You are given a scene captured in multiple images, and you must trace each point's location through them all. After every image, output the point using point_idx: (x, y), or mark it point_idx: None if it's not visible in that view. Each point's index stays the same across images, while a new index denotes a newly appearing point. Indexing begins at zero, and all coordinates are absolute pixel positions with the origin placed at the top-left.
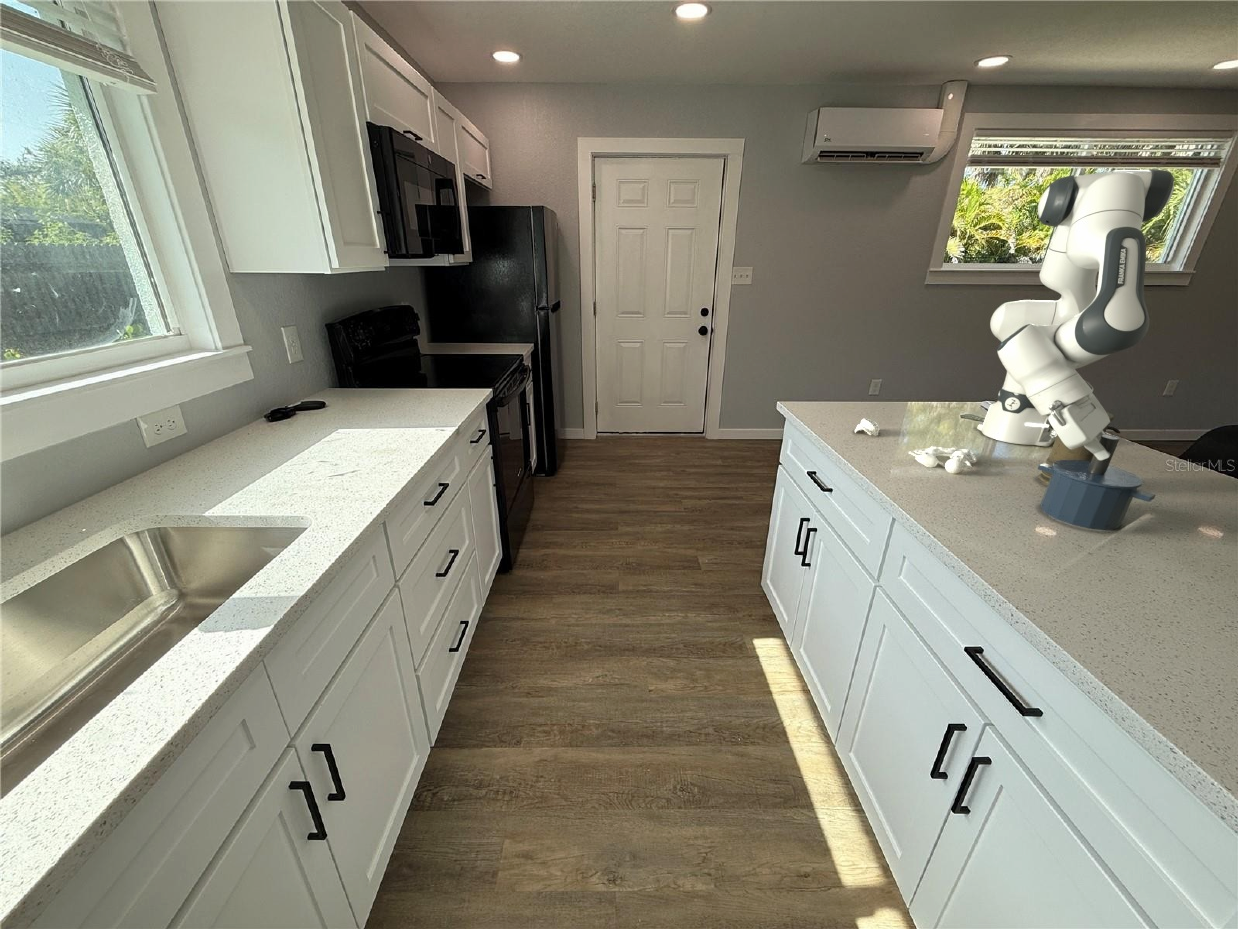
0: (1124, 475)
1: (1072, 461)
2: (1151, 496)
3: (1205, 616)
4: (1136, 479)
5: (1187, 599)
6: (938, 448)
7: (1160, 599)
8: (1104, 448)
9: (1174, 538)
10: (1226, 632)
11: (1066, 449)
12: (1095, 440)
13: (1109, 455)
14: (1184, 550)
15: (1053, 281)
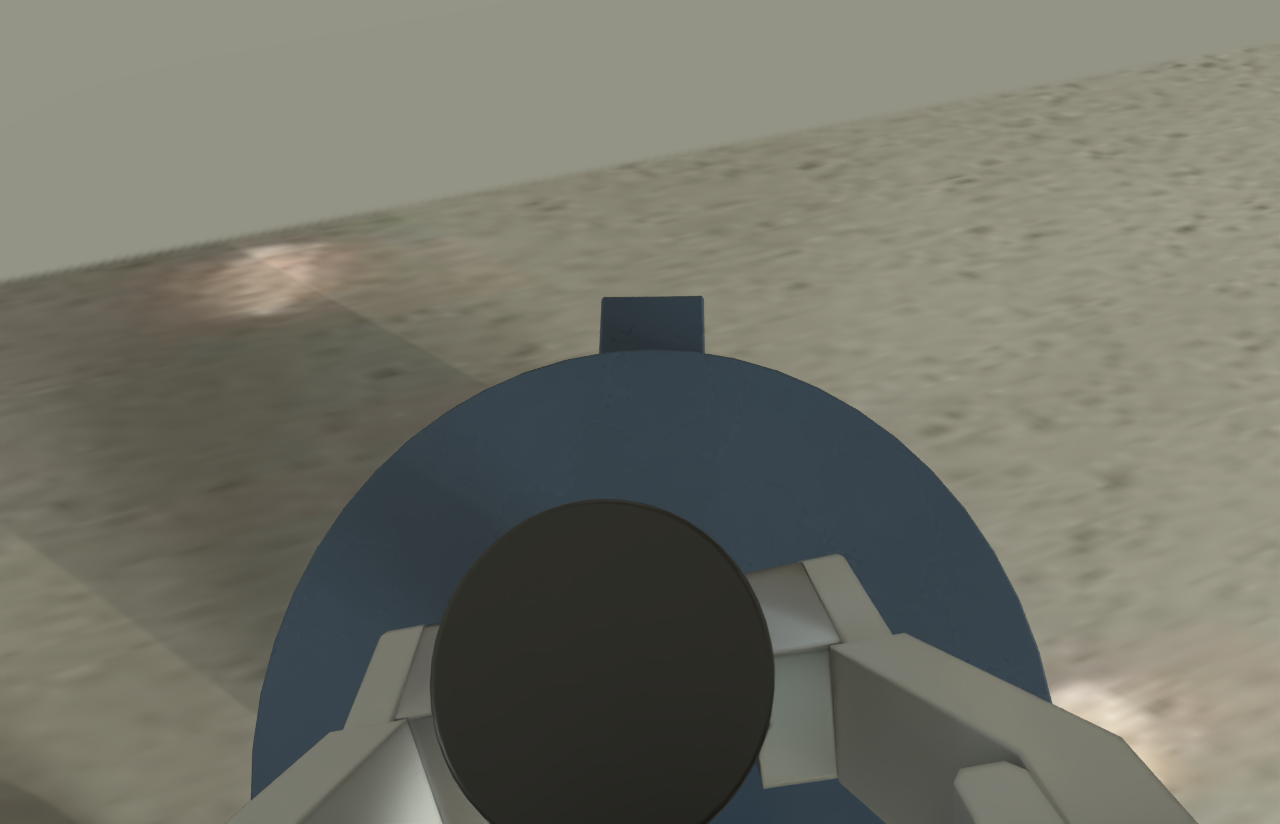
0: (494, 503)
1: None
2: (678, 299)
3: (1179, 104)
4: (530, 409)
5: (1112, 158)
6: None
7: (1226, 198)
8: (855, 642)
9: (506, 333)
10: (1219, 55)
11: None
12: (1177, 805)
13: (809, 561)
14: (621, 276)
15: None
